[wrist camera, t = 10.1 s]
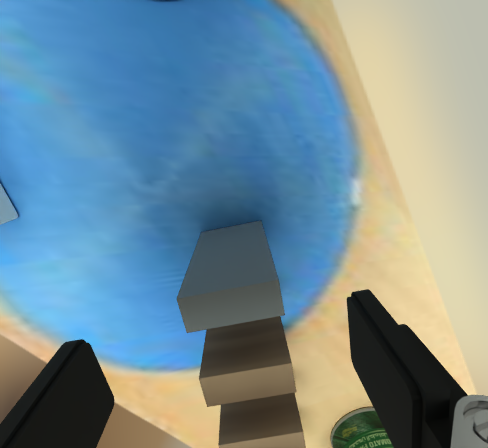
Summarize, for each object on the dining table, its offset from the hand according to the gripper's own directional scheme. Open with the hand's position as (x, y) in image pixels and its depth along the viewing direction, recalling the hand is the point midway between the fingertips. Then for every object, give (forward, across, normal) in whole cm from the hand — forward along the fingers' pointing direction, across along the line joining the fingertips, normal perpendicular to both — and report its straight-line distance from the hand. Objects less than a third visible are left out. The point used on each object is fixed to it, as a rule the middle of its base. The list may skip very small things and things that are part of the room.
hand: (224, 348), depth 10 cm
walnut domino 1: (+14, 0, +6) cm, 15 cm away
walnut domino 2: (+13, 0, +11) cm, 17 cm away
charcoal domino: (+14, 0, +1) cm, 14 cm away
